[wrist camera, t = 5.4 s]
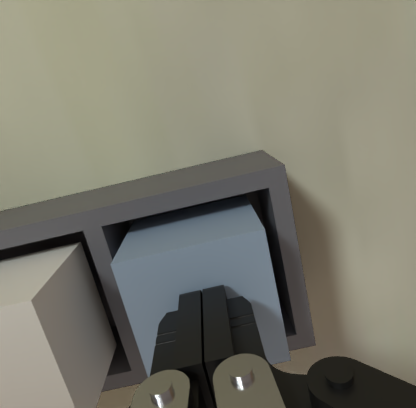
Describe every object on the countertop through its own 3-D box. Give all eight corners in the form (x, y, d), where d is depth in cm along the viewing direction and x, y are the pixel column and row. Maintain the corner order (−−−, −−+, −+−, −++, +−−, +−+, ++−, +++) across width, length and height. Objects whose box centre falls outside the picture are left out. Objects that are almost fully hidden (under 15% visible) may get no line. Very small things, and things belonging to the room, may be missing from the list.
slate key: (163, 317, 17) (152, 390, 13) (134, 220, 16) (110, 264, 11) (266, 294, 17) (290, 360, 12) (245, 194, 15) (264, 229, 11)
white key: (8, 368, 16) (-63, 468, 11) (-38, 268, 14) (-137, 338, 10) (116, 344, 16) (86, 436, 11) (80, 241, 14) (31, 300, 10)
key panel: (-95, 376, 20) (-177, 452, 15) (-166, 250, 18) (-283, 296, 13) (288, 291, 19) (315, 345, 15) (261, 150, 17) (284, 164, 13)
